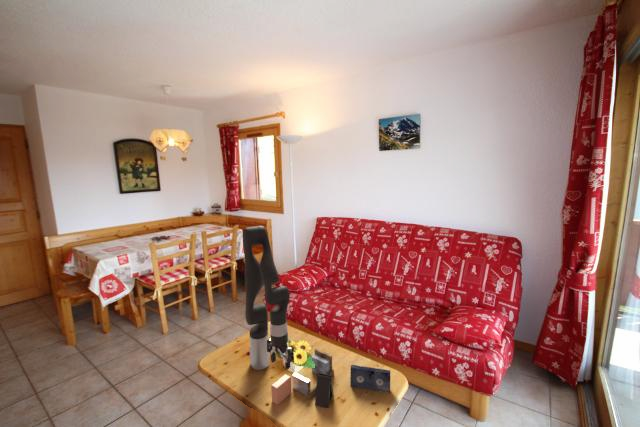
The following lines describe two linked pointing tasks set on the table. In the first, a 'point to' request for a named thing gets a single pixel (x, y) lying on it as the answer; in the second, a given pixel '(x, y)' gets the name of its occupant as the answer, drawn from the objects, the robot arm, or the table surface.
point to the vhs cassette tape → (370, 378)
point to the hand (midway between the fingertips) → (280, 365)
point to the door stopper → (323, 390)
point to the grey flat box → (301, 384)
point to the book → (281, 389)
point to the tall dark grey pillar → (321, 367)
